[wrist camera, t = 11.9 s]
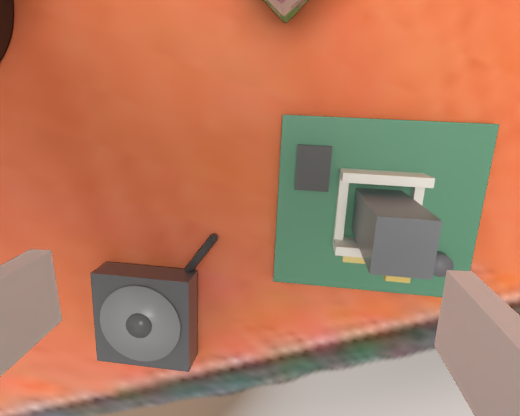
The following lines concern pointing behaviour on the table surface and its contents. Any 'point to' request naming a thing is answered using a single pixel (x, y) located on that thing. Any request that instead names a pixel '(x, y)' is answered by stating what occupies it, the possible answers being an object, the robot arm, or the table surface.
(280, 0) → the ink box
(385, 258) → the plug
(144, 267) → the speaker
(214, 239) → the rod
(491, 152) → the board
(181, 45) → the table surface
